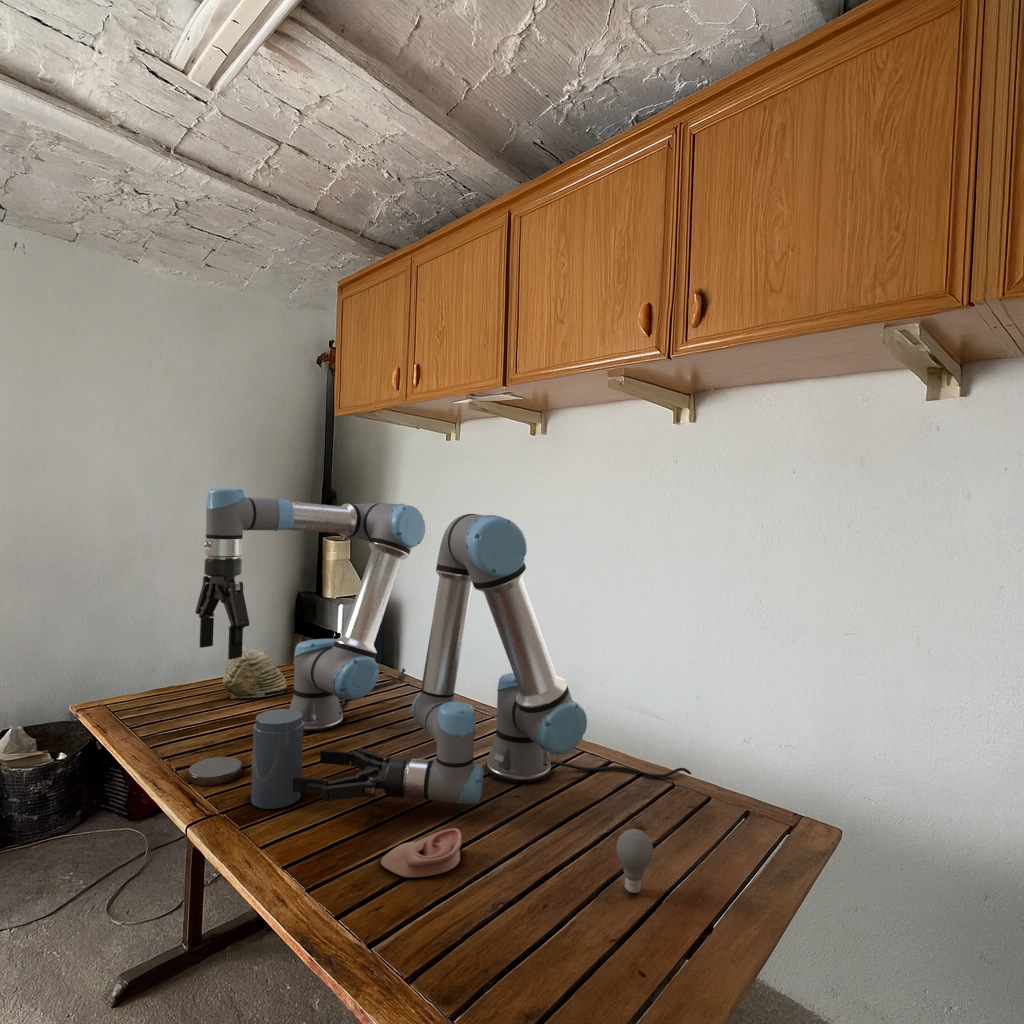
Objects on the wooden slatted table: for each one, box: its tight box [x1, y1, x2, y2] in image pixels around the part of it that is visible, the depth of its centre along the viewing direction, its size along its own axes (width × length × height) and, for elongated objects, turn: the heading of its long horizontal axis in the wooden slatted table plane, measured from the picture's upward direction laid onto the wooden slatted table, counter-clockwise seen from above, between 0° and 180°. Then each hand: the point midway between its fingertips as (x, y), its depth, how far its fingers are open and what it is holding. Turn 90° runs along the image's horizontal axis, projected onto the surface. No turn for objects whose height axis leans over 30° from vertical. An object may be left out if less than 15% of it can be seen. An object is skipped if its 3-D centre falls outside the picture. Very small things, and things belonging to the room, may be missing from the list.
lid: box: [188, 756, 242, 787], centre depth 142 cm, size 11×11×2 cm
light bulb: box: [615, 828, 654, 894], centre depth 106 cm, size 6×6×10 cm
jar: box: [250, 708, 304, 810], centre depth 133 cm, size 10×10×17 cm
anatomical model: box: [380, 827, 462, 879], centre depth 112 cm, size 13×4×12 cm
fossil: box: [222, 646, 288, 699], centre depth 198 cm, size 9×18×15 cm, turn 132°
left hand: (220, 652), depth 141 cm, fingers open, 13 cm apart
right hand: (307, 769), depth 132 cm, fingers open, 13 cm apart
